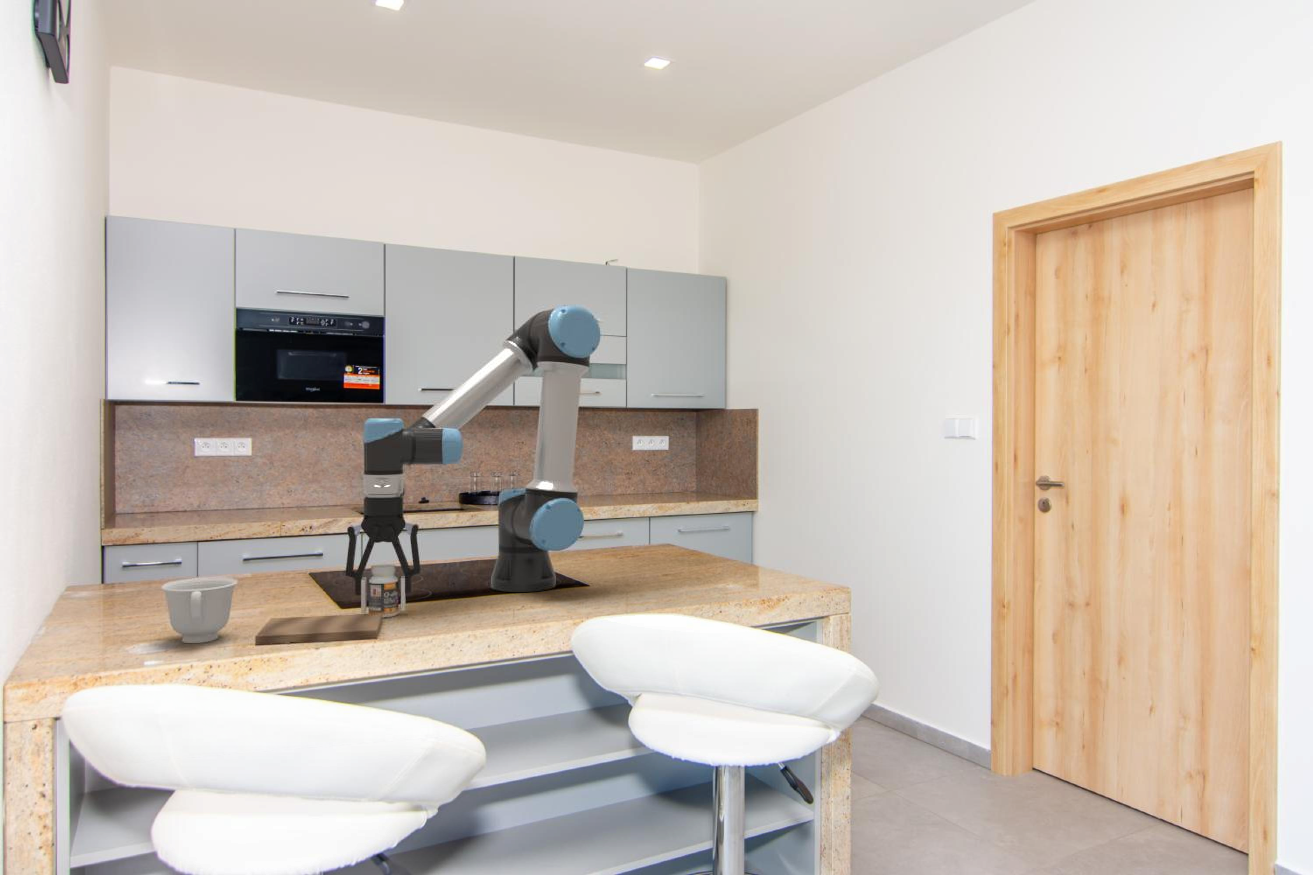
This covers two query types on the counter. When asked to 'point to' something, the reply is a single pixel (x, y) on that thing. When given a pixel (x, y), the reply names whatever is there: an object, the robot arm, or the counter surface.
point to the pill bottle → (384, 590)
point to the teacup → (199, 606)
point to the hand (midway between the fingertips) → (383, 610)
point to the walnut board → (320, 628)
